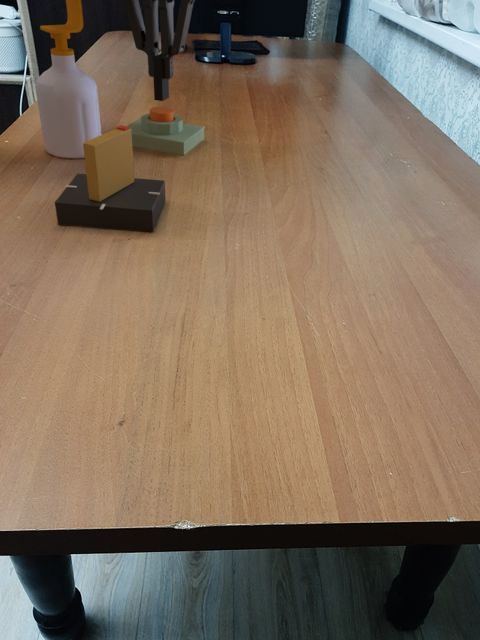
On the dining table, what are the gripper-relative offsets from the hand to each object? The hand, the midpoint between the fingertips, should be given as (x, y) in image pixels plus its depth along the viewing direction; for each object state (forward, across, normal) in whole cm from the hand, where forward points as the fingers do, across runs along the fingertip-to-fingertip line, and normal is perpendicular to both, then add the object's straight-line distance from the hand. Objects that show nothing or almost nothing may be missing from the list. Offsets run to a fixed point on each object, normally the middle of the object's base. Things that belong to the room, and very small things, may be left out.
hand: (161, 98), depth 96 cm
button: (+4, 0, 0) cm, 4 cm away
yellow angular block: (+4, -6, +30) cm, 31 cm away
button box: (+7, 0, 0) cm, 7 cm away
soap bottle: (+7, +11, +11) cm, 17 cm away
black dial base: (+7, -6, +30) cm, 31 cm away
